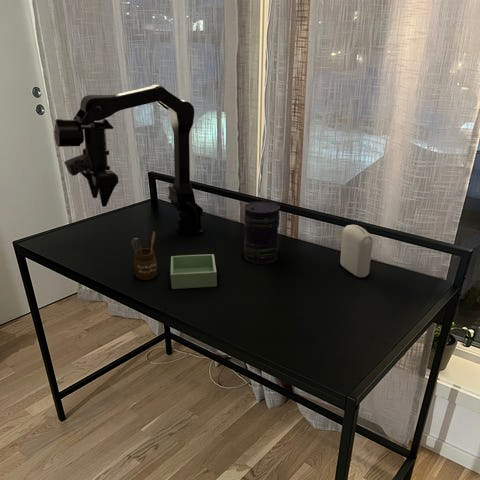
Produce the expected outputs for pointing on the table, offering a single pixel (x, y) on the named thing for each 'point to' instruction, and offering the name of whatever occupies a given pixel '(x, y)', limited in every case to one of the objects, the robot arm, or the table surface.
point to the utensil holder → (145, 262)
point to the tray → (193, 271)
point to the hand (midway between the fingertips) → (99, 202)
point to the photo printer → (356, 250)
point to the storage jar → (261, 231)
